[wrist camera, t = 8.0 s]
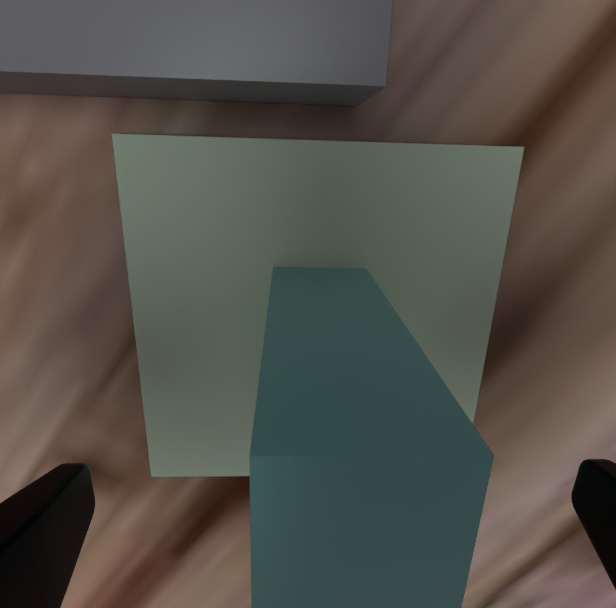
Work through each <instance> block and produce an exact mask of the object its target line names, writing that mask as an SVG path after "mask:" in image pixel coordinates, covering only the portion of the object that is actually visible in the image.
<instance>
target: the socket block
mask: <svg viewBox="0 0 616 608" xmlns="http://www.w3.org/2000/svg"><path fill="white" fill-rule="evenodd" d="M392 4H393V0H0V93H13V94H40V95H67V96H95V97H122V98H150V99H177V100H205V101H232V102H259V103H287V104H314V105H342V106H357V105H359V104H360V103H362V102H363V101H365V100H366V99H368V98H369V97H371V96H372V95H374V94H375V93H377V92H378V91H380V90H381V89H383V88H384V87H386V79H387V67H388V54H389V42H390V29H391V17H392Z"/></svg>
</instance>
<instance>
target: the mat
mask: <svg viewBox="0 0 616 608" xmlns="http://www.w3.org/2000/svg"><path fill="white" fill-rule="evenodd" d="M112 140H113V149H114V158H115V166H116V175H117V184H118V193H119V201H120V210H121V219H122V227H123V236H124V245H125V253H126V262H127V271H128V279H129V288H130V297H131V306H132V314H133V323H134V332H135V340H136V349H137V358H138V366H139V375H140V384H141V392H142V401H143V410H144V418H145V427H146V436H147V445H148V453H149V462H150V471H151V477H200V476H250V467H249V455H250V447H251V439H252V431H253V423H254V415H255V407H256V399H257V391H258V383H259V375H260V367H261V359H262V351H263V343H264V335H265V327H266V319H267V311H268V303H269V295H270V287H271V279H272V271H273V267H304V268H354V269H367V270H368V272H369V273H370V275H371V276H372V277H373V279H374V280H375V282H376V283H377V285H378V286H379V288H380V289H381V291H382V292H383V294H384V295H385V296H386V298H387V299H388V301H389V302H390V304H391V305H392V307H393V308H394V310H395V311H396V313H397V314H398V315H399V317H400V318H401V320H402V321H403V323H404V324H405V326H406V327H407V329H408V330H409V332H410V333H411V334H412V336H413V337H414V339H415V340H416V342H417V343H418V345H419V346H420V348H421V349H422V351H423V352H424V353H425V355H426V356H427V358H428V359H429V361H430V362H431V364H432V365H433V367H434V368H435V370H436V371H437V372H438V374H439V375H440V377H441V378H442V380H443V381H444V383H445V384H446V386H447V387H448V389H449V390H450V391H451V393H452V394H453V396H454V397H455V399H456V400H457V402H458V403H459V405H460V406H461V408H462V409H463V410H464V412H465V413H466V415H467V416H468V418H469V419H470V421H471V422H472V424H473V422H474V417H475V411H476V406H477V401H478V395H479V390H480V384H481V379H482V373H483V368H484V363H485V357H486V352H487V346H488V341H489V336H490V330H491V325H492V319H493V314H494V308H495V303H496V298H497V292H498V287H499V281H500V276H501V271H502V265H503V260H504V254H505V249H506V243H507V238H508V233H509V227H510V222H511V216H512V211H513V206H514V200H515V195H516V189H517V184H518V179H519V173H520V168H521V162H522V157H523V151H524V147H511V146H480V145H449V144H418V143H387V142H355V141H324V140H293V139H262V138H231V137H199V136H168V135H137V134H112Z"/></svg>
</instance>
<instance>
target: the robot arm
mask: <svg viewBox="0 0 616 608" xmlns="http://www.w3.org/2000/svg"><path fill="white" fill-rule="evenodd" d="M572 504H573V507H574V509H575V511H576V513H577V515H578V517H579V519H580V521H581V523H582V525H583V527H584V529H585V531H586V533H587V535H588V537H589V539H590V541H591V543H592V545H593V547H594V549H595V550H596V552H597V554H598V556H599V558H600V560H601V562H602V564H603V566H604V568H605V570H606V572H607V574H608V576H609V578H610V580H611V582H612V583H613V585H614V587H615V589H616V463H614V462H612V461H610V460H606V459H587V460H584V461H583V462H582V463H581V464H580V466H579V470H578V473H577V477H576V480H575V483H574V487H573V490H572ZM94 509H95V497H94V491H93V485H92V479H91V474H90V469H89V467H88V465H86V464H84V463H65V464H61V465H59V466H57V467H56V468H54V469H53V470H51V471H49V472H48V473H46V474H45V475H43V476H42V477H40V478H39V479H37V480H35V481H34V482H32V483H31V484H29V485H28V486H26V487H25V488H23V489H21V490H20V491H18V492H17V493H15V494H14V495H12V496H11V497H9V498H8V499H6V500H4V501H3V502H1V503H0V608H60V607H61V604H62V601H63V599H64V596H65V593H66V591H67V588H68V585H69V582H70V579H71V577H72V574H73V571H74V568H75V565H76V562H77V559H78V557H79V554H80V551H81V548H82V545H83V542H84V539H85V537H86V534H87V531H88V528H89V525H90V522H91V519H92V517H93V513H94Z"/></svg>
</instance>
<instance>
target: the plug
mask: <svg viewBox="0 0 616 608" xmlns="http://www.w3.org/2000/svg"><path fill="white" fill-rule="evenodd" d="M493 458H494V454H493V453H492V451H491V450H490V449H489V447H488V446H487V444H486V443H485V441H484V440H483V438H482V437H481V435H480V434H479V432H478V431H477V430H476V428H475V427H474V425H473V424H472V422H471V421H470V419H469V418H468V416H467V415H466V413H465V412H464V410H463V409H462V408H461V406H460V405H459V403H458V402H457V400H456V399H455V397H454V396H453V394H452V393H451V391H450V390H449V389H448V387H447V386H446V384H445V383H444V381H443V380H442V378H441V377H440V375H439V374H438V372H437V371H436V370H435V368H434V367H433V365H432V364H431V362H430V361H429V359H428V358H427V356H426V355H425V353H424V352H423V351H422V349H421V348H420V346H419V345H418V343H417V342H416V340H415V339H414V337H413V336H412V334H411V333H410V332H409V330H408V329H407V327H406V326H405V324H404V323H403V321H402V320H401V318H400V317H399V315H398V314H397V313H396V311H395V310H394V308H393V307H392V305H391V304H390V302H389V301H388V299H387V298H386V296H385V295H384V294H383V292H382V291H381V289H380V288H379V286H378V285H377V283H376V282H375V280H374V279H373V277H372V276H371V275H370V273H369V272H368V270H367V269H354V268H304V267H273V271H272V279H271V287H270V295H269V303H268V311H267V319H266V327H265V335H264V343H263V351H262V359H261V367H260V375H259V383H258V391H257V399H256V407H255V415H254V423H253V431H252V439H251V447H250V455H249V467H250V531H251V595H252V608H461V607H462V602H463V598H464V593H465V588H466V584H467V579H468V574H469V570H470V565H471V560H472V556H473V551H474V546H475V542H476V537H477V532H478V528H479V523H480V518H481V514H482V509H483V504H484V500H485V495H486V490H487V486H488V481H489V476H490V472H491V467H492V462H493Z"/></svg>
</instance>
